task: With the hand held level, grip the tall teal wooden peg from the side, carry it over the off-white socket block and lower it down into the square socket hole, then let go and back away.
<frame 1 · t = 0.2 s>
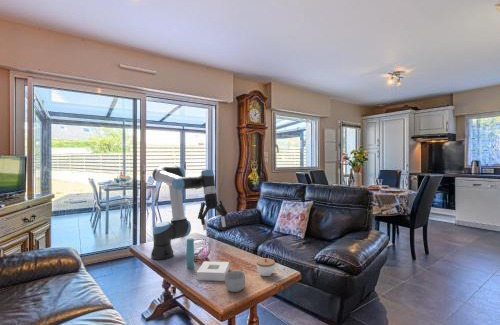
hand: (214, 228, 165), 27 cm above the table, tool tilted 15°, fingers open, 13 cm apart
socket block: (213, 274, 162), on the table
peg: (190, 267, 173), on the table
teacup: (236, 288, 145), on the table
lidded jar: (265, 274, 162), on the table
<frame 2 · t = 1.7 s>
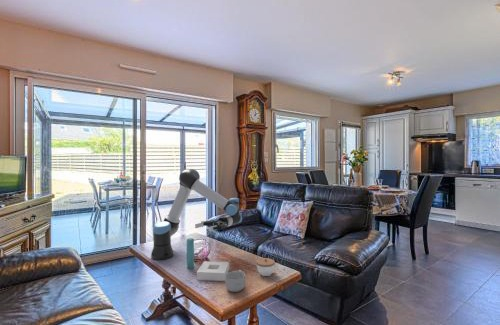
hand: (202, 227, 180), 23 cm above the table, tool horizontal, fingers open, 13 cm apart
nothing on the table moved.
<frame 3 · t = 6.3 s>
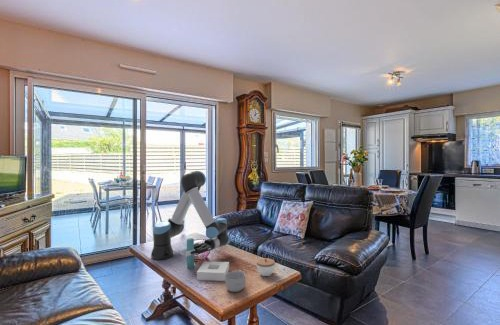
hand: (183, 253, 168), 11 cm above the table, tool horizontal, fingers closed on peg, 4 cm apart
peg: (190, 267, 173), on the table, touching gripper
everything else where it was.
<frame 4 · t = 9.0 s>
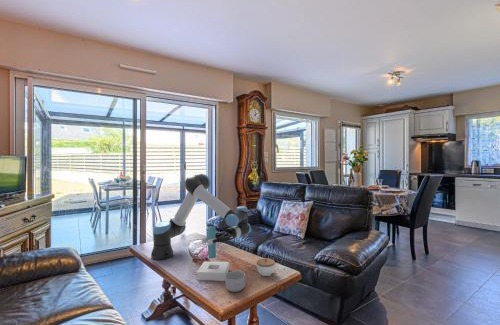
hand: (205, 241, 159), 21 cm above the table, tool horizontal, fingers closed on peg, 4 cm apart
peg: (212, 257, 163), point 10 cm above the table, touching gripper
everything else where it was.
when the fingers open (12 cm above the table, at t = 12.1 s): peg drops 1 cm, resting in socket block.
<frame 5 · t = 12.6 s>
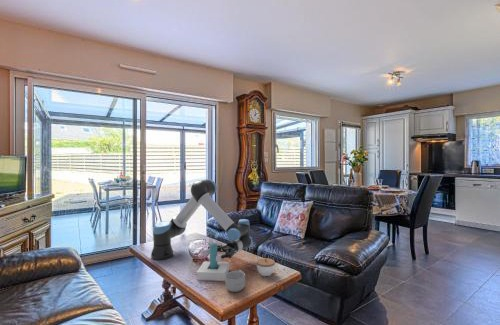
hand: (208, 256, 159), 12 cm above the table, tool horizontal, fingers open, 12 cm apart
peg: (213, 274, 162), resting in socket block
everything else where it was.
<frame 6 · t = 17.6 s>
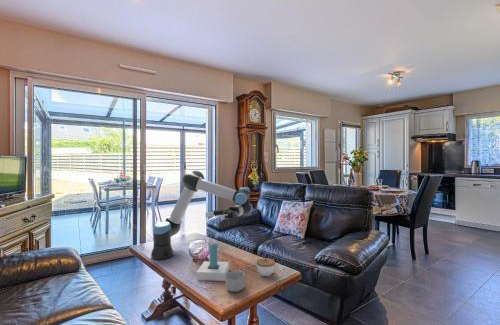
hand: (212, 216, 174), 32 cm above the table, tool horizontal, fingers open, 13 cm apart
nothing on the table moved.
at the end: peg 0.1 cm off-centre on the socket block, point 0.0 cm above the socket block's base; peg tilted 0°; the gripper is holding nothing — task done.
